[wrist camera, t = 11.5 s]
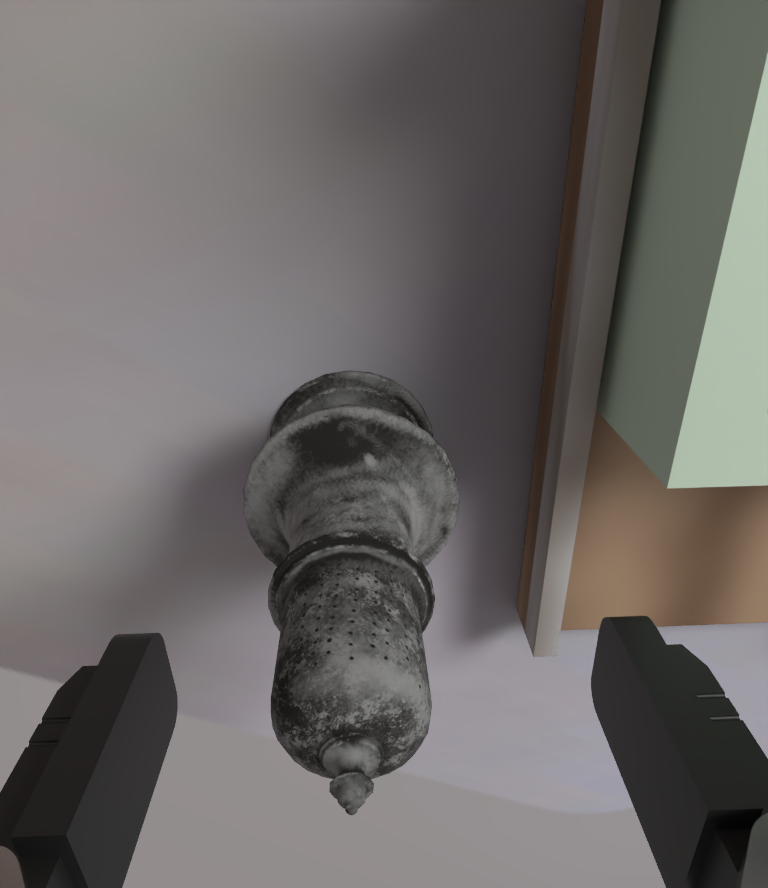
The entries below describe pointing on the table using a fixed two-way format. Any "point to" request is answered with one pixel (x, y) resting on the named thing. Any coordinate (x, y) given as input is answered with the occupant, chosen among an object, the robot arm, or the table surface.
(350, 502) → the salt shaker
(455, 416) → the table surface
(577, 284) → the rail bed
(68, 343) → the table surface
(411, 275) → the table surface
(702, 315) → the slider block
